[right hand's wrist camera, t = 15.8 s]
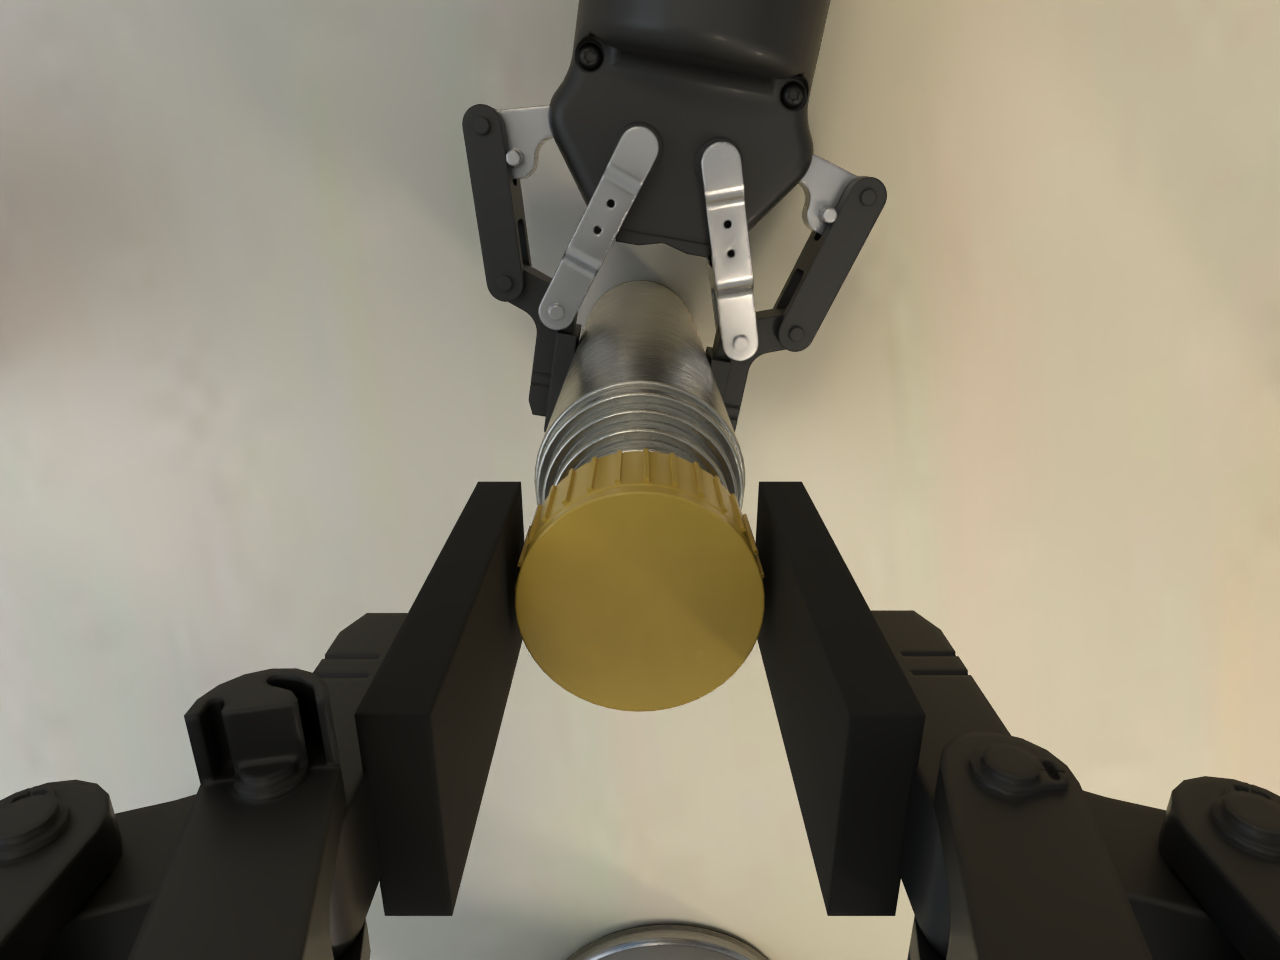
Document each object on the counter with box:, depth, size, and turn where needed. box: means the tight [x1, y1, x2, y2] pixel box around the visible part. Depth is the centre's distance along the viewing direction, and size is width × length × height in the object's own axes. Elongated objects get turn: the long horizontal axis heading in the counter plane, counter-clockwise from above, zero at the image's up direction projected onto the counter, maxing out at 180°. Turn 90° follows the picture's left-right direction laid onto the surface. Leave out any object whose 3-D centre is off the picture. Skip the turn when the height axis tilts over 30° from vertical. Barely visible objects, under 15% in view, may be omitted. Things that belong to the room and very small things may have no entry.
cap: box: [515, 448, 765, 711], centre depth 13 cm, size 4×4×2 cm
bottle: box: [535, 281, 745, 511], centre depth 24 cm, size 5×5×22 cm
